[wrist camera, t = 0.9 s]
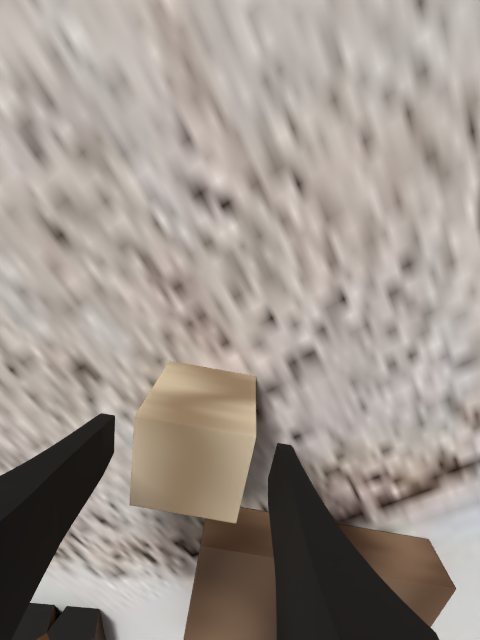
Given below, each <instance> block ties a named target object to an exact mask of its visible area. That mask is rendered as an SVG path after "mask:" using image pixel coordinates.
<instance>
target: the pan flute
mask: <svg viewBox="0 0 480 640" xmlns="http://www.w3.org/2000/svg"><path fill="white" fill-rule="evenodd" d="M12 640H106V639H105V634H104V629H103V624H102V620H101V615H100V610H99V609H94V608H82V607H71V606H67V607H66V608H65V609H64V611H63V612H62V613H61V615H60V616H59V617H58V616H57V612H56V609H55V605H48V604H36V603H29V605H28V607H27V609H26V611H25V613H24V615H23V617H22V619H21V621H20V623H19V625H18V627H17V629H16V631H15V634H14V636H13V638H12Z"/></svg>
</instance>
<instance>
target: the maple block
mask: <svg viewBox="0 0 480 640" xmlns="http://www.w3.org/2000/svg"><path fill="white" fill-rule="evenodd" d="M255 440H256V376H252V375H247V374H241V373H235V372H229V371H224V370H218V369H212V368H206V367H201V366H195V365H189V364H183V363H178V362H172V361H169V363H168V364H167V366H166V367H165V369H164V371H163V372H162V374H161V375H160V377H159V379H158V380H157V382H156V383H155V385H154V386H153V388H152V390H151V391H150V393H149V394H148V396H147V398H146V399H145V401H144V402H143V404H142V405H141V407H140V409H139V410H138V412H137V413H136V415H135V417H134V435H133V453H132V472H131V490H130V505H132V506H137V507H143V508H149V509H155V510H161V511H167V512H172V513H178V514H184V515H190V516H196V517H202V518H207V519H213V520H219V521H225V522H231V523H236V522H237V518H238V513H239V509H240V505H241V500H242V496H243V492H244V488H245V483H246V479H247V475H248V470H249V466H250V462H251V458H252V453H253V449H254V445H255Z"/></svg>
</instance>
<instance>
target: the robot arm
mask: <svg viewBox="0 0 480 640" xmlns="http://www.w3.org/2000/svg"><path fill="white" fill-rule="evenodd" d="M114 432H115V416H114V415H108V414H102V413H101V414H99V415H98V416H96V417H95V418H93V419H92V420H90V421H89V422H87V423H86V424H85V425H83V426H82V427H80V428H79V429H77V430H76V431H74V432H73V433H71V434H70V435H68V436H67V437H65V438H64V439H62V440H61V441H59V442H58V443H56V444H55V445H53V446H52V447H50V448H48V449H47V450H45V451H43V452H42V453H40V454H39V455H37V456H35V457H34V458H32V459H30V460H29V461H27V462H25V463H23V464H22V465H20V466H18V467H16V468H14V469H13V470H11V471H9V472H7V473H5V474H3V475H1V476H0V640H12V638H13V636H14V634H15V631H16V629H17V627H18V625H19V623H20V621H21V619H22V617H23V615H24V613H25V611H26V609H27V607H28V605H29V603H30V601H31V599H32V597H33V595H34V593H35V591H36V589H37V587H38V585H39V583H40V581H41V579H42V577H43V575H44V573H45V572H46V570H47V568H48V566H49V564H50V562H51V560H52V558H53V556H54V555H55V553H56V551H57V549H58V547H59V545H60V543H61V542H62V540H63V538H64V537H65V535H66V533H67V531H68V530H69V528H70V527H71V525H72V524H73V522H74V520H75V519H76V517H77V516H78V514H79V513H80V511H81V509H82V508H83V506H84V505H85V503H86V502H87V500H88V498H89V497H90V495H91V494H92V492H93V490H94V489H95V487H96V486H97V484H98V483H99V481H100V479H101V478H102V476H103V474H104V472H105V470H106V468H107V466H108V464H109V462H110V460H111V458H112V456H113V453H114ZM268 507H269V517H270V527H271V537H272V546H273V556H274V565H275V579H276V620H277V640H439V638H438V636H437V634H436V632H434V631H433V630H432V629H431V628H430V627H429V626H428V625H427V624H426V623H425V622H424V621H423V620H422V619H421V618H420V617H419V616H418V615H417V614H416V613H415V612H414V611H413V610H412V609H411V608H410V607H409V606H408V605H407V604H406V603H404V602H403V601H402V599H401V598H400V597H399V596H398V595H397V594H396V593H395V592H394V591H393V590H392V589H391V588H390V587H389V586H388V585H387V584H386V583H385V582H384V581H383V579H382V578H381V577H380V576H379V575H378V574H377V573H376V572H375V570H374V569H373V568H372V567H371V566H370V565H369V563H368V562H367V561H366V560H365V559H364V558H363V556H362V555H361V554H360V553H359V552H358V550H357V549H356V548H355V547H354V546H353V544H352V543H351V542H350V540H349V539H348V538H347V536H346V535H345V534H344V532H343V531H342V530H341V528H340V527H339V526H338V524H337V523H336V521H335V520H334V518H333V517H332V515H331V514H330V512H329V511H328V509H327V508H326V506H325V505H324V503H323V502H322V500H321V498H320V497H319V495H318V493H317V492H316V490H315V488H314V487H313V485H312V483H311V481H310V480H309V478H308V476H307V474H306V472H305V471H304V469H303V467H302V465H301V463H300V461H299V459H298V457H297V455H296V453H295V451H294V449H293V447H292V446H291V445H286V444H280V443H277V447H276V451H275V454H274V458H273V462H272V466H271V469H270V473H269V477H268Z"/></svg>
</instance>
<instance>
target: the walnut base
mask: <svg viewBox="0 0 480 640" xmlns="http://www.w3.org/2000/svg"><path fill="white" fill-rule="evenodd" d="M338 526H339V527H340V528H341V530H342V531H343V532H344V534H345V535H346V536H347V538H348V539H349V540H350V542H351V543H352V544H353V546H354V547H355V548H356V549H357V550H358V552H359V553H360V554H361V555H362V556H363V558H364V559H365V560H366V561H367V562H368V563H369V565H370V566H371V567H372V568H373V569H374V570H375V572H376V573H377V574H378V575H379V576H380V577H381V578H382V579H383V581H384V582H385V583H386V584H387V585H388V586H389V587H390V588H391V589H392V590H393V591H394V592H395V593H396V594H397V595H398V596H399V597H400V598H401V599H402V601H403V602H404V603H406V604H407V605H408V606H409V607H410V608H411V609H412V610H413V611H414V612H415V613H416V614H417V615H418V616H419V617H420V618H421V619H422V620H423V621H424V622H425V623H426V624H427V625H428V626H429V627H431V626H432V624H433V623H434V621H435V620H436V618H437V617H438V615H439V614H440V612H441V611H442V609H443V608H444V606H445V605H446V603H447V602H448V601H449V599H450V598H451V596H452V595H453V593H454V592H455V590H456V587H455V585H454V584H453V582H452V580H451V578H450V577H449V575H448V573H447V571H446V569H445V568H444V566H443V564H442V562H441V560H440V559H439V557H438V555H437V553H436V551H435V550H434V548H433V546H432V544H431V542H430V541H429V539H423V538H417V537H411V536H405V535H400V534H394V533H388V532H382V531H376V530H370V529H364V528H358V527H353V526H347V525H341V524H338ZM184 640H277V620H276V579H275V565H274V556H273V546H272V537H271V527H270V517H269V512H264V511H258V510H253V509H247V508H241V507H240V509H239V513H238V518H237V522H236V523H231V522H225V521H219V520H213V519H207V518H205V523H204V529H203V534H202V540H201V545H200V551H199V556H198V562H197V567H196V573H195V579H194V584H193V590H192V595H191V601H190V606H189V612H188V617H187V623H186V628H185V634H184Z"/></svg>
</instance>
